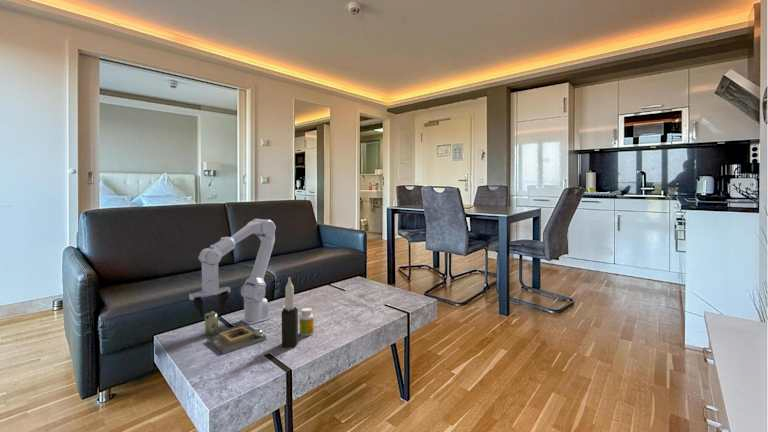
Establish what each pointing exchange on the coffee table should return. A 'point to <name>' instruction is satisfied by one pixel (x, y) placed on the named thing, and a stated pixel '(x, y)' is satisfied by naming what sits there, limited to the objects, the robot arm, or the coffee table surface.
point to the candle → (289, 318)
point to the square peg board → (236, 339)
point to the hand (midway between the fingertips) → (211, 313)
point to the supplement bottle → (306, 322)
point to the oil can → (211, 324)
